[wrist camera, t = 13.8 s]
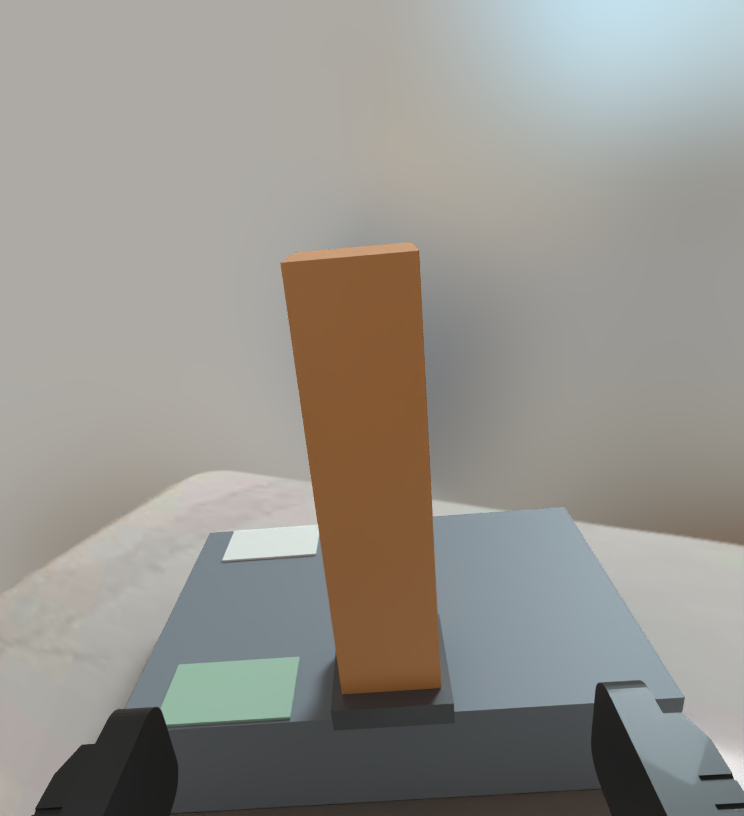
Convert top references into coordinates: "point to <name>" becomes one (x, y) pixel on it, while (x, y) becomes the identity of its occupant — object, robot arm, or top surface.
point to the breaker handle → (371, 478)
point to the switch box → (466, 657)
